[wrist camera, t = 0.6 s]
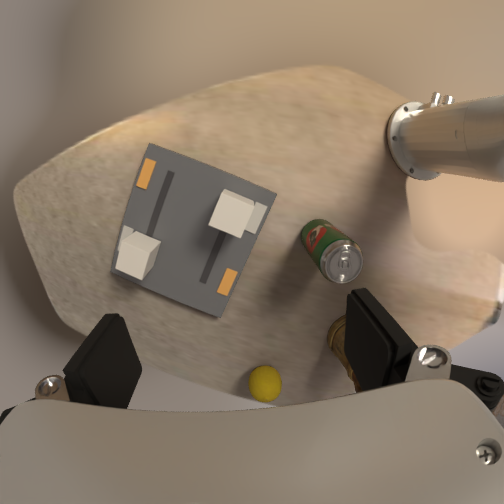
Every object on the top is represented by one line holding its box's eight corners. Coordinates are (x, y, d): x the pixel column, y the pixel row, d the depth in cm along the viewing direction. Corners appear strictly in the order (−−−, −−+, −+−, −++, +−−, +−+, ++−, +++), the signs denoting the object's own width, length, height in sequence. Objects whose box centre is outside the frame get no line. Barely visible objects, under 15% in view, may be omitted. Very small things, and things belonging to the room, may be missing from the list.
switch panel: (152, 143, 35) (148, 143, 33) (275, 193, 37) (277, 194, 36) (114, 268, 40) (109, 272, 39) (221, 313, 43) (220, 318, 41)
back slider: (136, 231, 37) (122, 240, 32) (161, 241, 37) (149, 252, 32) (129, 255, 38) (115, 268, 33) (153, 266, 38) (141, 280, 34)
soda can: (301, 253, 40) (321, 289, 29) (299, 219, 39) (321, 243, 27) (334, 250, 40) (365, 283, 29) (333, 216, 38) (367, 239, 27)
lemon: (285, 362, 46) (290, 394, 39) (269, 382, 48) (272, 413, 40) (257, 352, 45) (259, 384, 38) (242, 372, 47) (242, 405, 39)
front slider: (224, 188, 35) (221, 192, 30) (253, 200, 36) (254, 206, 31) (213, 216, 36) (208, 224, 32) (241, 228, 37) (240, 238, 32)
